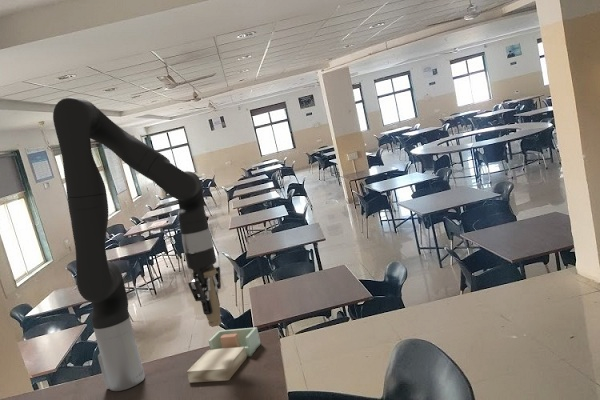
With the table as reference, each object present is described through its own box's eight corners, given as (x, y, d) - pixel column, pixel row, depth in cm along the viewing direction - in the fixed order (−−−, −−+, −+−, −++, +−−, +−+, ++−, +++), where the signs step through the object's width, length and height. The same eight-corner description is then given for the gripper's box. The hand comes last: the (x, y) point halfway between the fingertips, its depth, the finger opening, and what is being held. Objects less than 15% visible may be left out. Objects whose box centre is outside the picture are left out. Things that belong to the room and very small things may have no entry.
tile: (219, 337, 141) (222, 334, 143) (223, 353, 141) (226, 349, 143) (234, 336, 140) (237, 333, 142) (238, 351, 140) (241, 348, 142)
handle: (221, 328, 132) (209, 272, 130) (200, 329, 134) (188, 274, 132) (230, 320, 136) (219, 266, 134) (210, 321, 138) (198, 268, 137)
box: (211, 359, 140) (207, 342, 140) (222, 347, 147) (218, 330, 147) (251, 356, 137) (247, 338, 136) (260, 343, 144) (256, 327, 143)
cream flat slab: (189, 382, 129) (186, 371, 128) (210, 360, 140) (208, 349, 140) (228, 380, 125) (226, 368, 125) (246, 357, 137) (244, 346, 136)
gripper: (198, 242, 140) (211, 302, 142) (172, 256, 127) (186, 322, 129) (223, 239, 138) (235, 300, 140) (198, 253, 125) (213, 320, 127)
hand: (212, 310), depth 135 cm, fingers closed on handle, 4 cm apart
